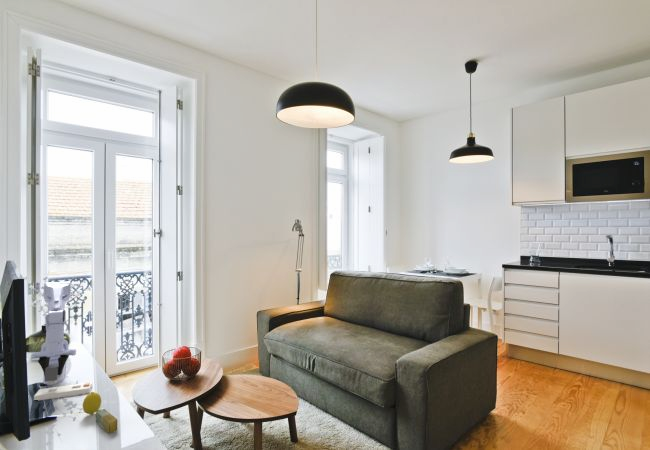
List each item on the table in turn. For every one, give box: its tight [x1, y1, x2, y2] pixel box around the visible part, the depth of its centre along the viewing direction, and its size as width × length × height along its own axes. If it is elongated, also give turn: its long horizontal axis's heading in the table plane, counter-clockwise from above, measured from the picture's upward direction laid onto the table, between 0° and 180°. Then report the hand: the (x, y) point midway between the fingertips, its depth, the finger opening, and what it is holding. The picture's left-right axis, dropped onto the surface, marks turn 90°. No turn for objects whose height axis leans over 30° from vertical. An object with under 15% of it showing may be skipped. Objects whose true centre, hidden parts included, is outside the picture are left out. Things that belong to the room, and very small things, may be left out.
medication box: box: [95, 407, 118, 434], centre depth 120 cm, size 12×3×4 cm, turn 51°
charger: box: [44, 364, 61, 385], centre depth 143 cm, size 5×4×7 cm
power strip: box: [33, 381, 93, 401], centre depth 144 cm, size 7×18×4 cm, turn 115°
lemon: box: [82, 391, 102, 416], centre depth 127 cm, size 6×6×8 cm
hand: (53, 374), depth 143 cm, fingers closed on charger, 4 cm apart
